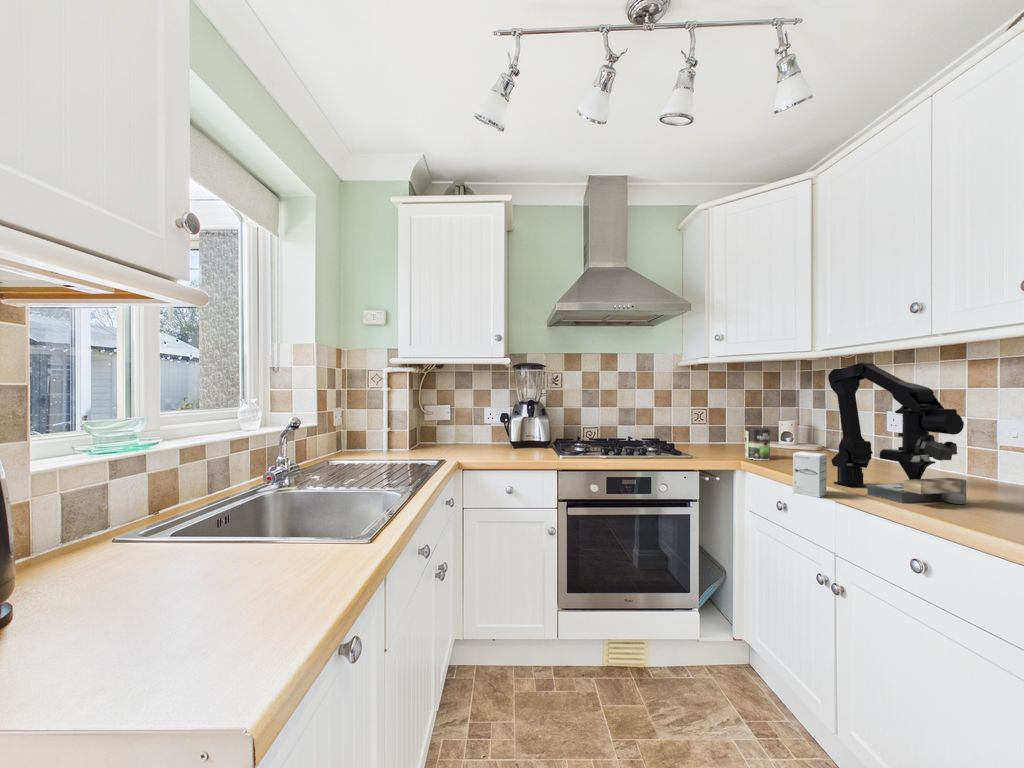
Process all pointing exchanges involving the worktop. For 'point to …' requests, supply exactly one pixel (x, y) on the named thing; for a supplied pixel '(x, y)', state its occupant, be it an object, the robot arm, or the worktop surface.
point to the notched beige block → (939, 488)
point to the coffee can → (757, 443)
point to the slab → (901, 493)
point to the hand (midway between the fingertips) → (915, 484)
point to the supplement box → (809, 474)
